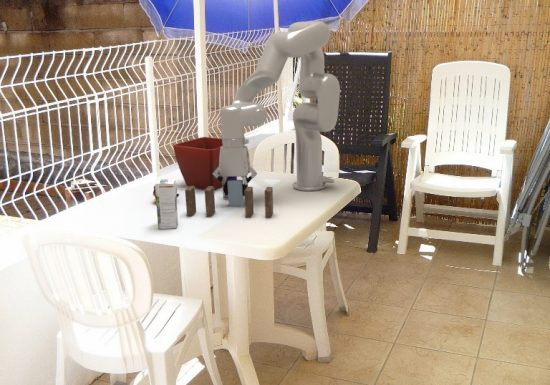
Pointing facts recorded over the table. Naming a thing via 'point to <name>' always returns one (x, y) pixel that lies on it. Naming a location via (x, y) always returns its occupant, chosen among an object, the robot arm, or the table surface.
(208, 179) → the plant pot
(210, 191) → the domino
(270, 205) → the domino
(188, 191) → the domino
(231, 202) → the domino
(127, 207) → the table surface
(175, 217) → the syrup box
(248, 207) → the domino
